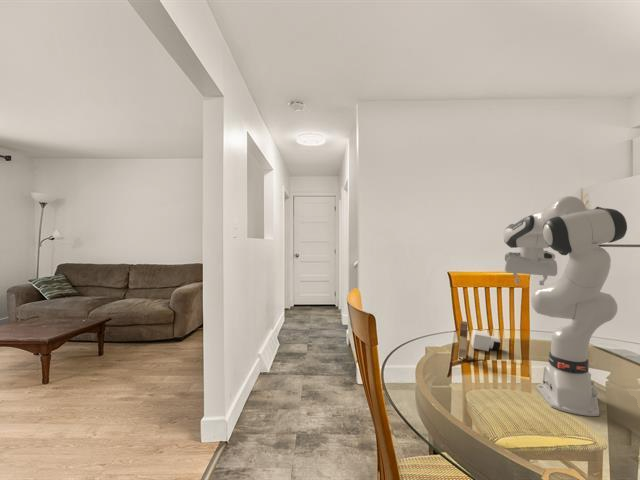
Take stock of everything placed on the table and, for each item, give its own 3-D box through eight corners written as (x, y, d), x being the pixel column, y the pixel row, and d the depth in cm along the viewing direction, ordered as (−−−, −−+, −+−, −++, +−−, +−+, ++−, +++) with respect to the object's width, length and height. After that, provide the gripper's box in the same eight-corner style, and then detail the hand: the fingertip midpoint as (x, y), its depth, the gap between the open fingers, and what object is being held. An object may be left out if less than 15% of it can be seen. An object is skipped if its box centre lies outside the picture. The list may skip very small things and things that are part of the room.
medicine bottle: (470, 343, 183) (496, 348, 180) (472, 348, 177) (499, 353, 174) (473, 329, 183) (499, 334, 180) (475, 334, 176) (502, 339, 173)
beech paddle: (465, 359, 165) (467, 324, 164) (458, 358, 166) (460, 323, 165) (466, 354, 171) (467, 321, 169) (459, 353, 172) (460, 320, 170)
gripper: (505, 252, 164) (503, 283, 166) (559, 255, 156) (557, 287, 158) (504, 251, 170) (502, 280, 171) (556, 253, 162) (554, 284, 163)
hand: (529, 284), depth 164 cm, fingers open, 8 cm apart
